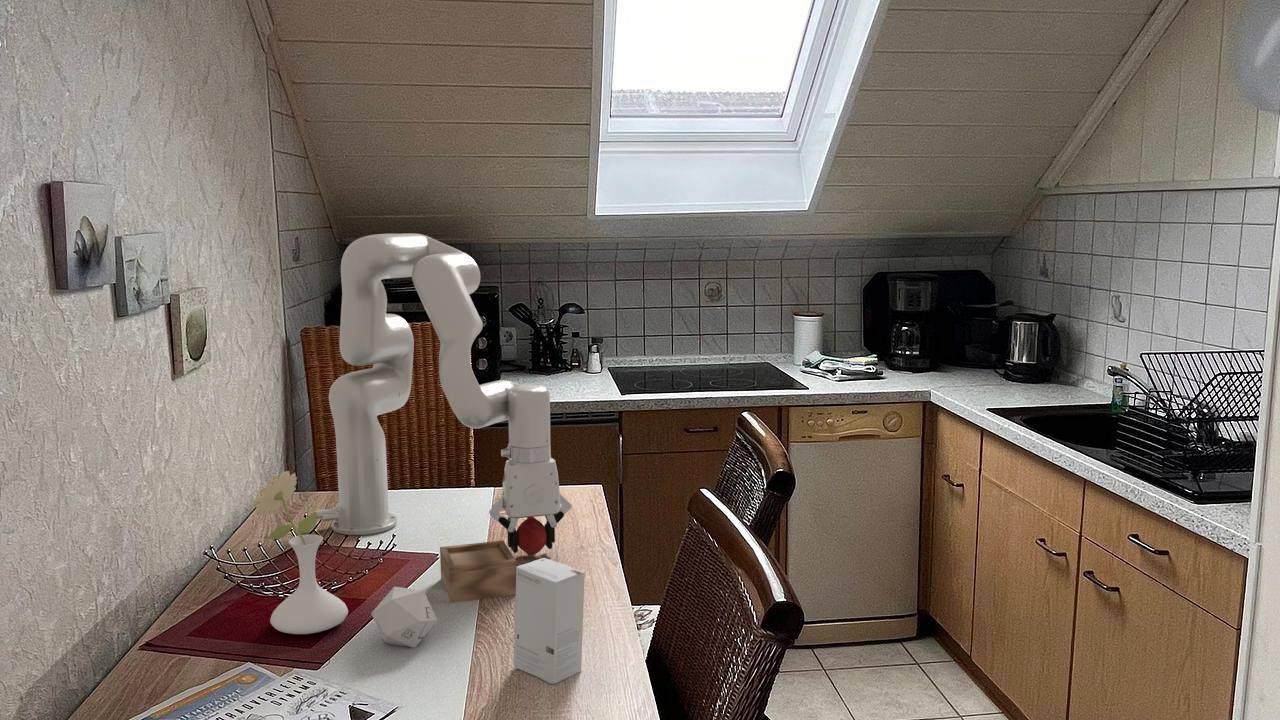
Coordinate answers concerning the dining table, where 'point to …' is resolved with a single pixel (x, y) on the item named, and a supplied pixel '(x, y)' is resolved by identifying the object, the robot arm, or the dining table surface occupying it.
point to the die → (404, 616)
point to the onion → (531, 536)
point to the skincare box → (548, 620)
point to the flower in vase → (300, 568)
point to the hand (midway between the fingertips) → (531, 547)
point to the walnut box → (478, 571)
